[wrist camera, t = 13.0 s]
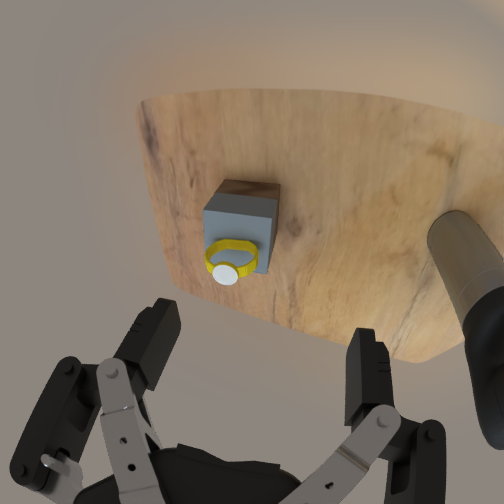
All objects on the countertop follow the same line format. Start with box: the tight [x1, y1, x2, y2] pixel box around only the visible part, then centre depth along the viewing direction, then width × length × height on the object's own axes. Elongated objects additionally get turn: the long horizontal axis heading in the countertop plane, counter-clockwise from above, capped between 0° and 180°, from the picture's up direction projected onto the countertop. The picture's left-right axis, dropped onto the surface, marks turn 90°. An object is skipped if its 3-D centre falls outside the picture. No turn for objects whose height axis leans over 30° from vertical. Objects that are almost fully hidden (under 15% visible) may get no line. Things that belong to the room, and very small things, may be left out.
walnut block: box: [214, 180, 280, 251], centre depth 41 cm, size 8×8×5 cm
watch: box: [204, 239, 259, 285], centre depth 33 cm, size 6×3×6 cm, turn 92°
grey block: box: [203, 193, 277, 274], centre depth 37 cm, size 8×8×5 cm
